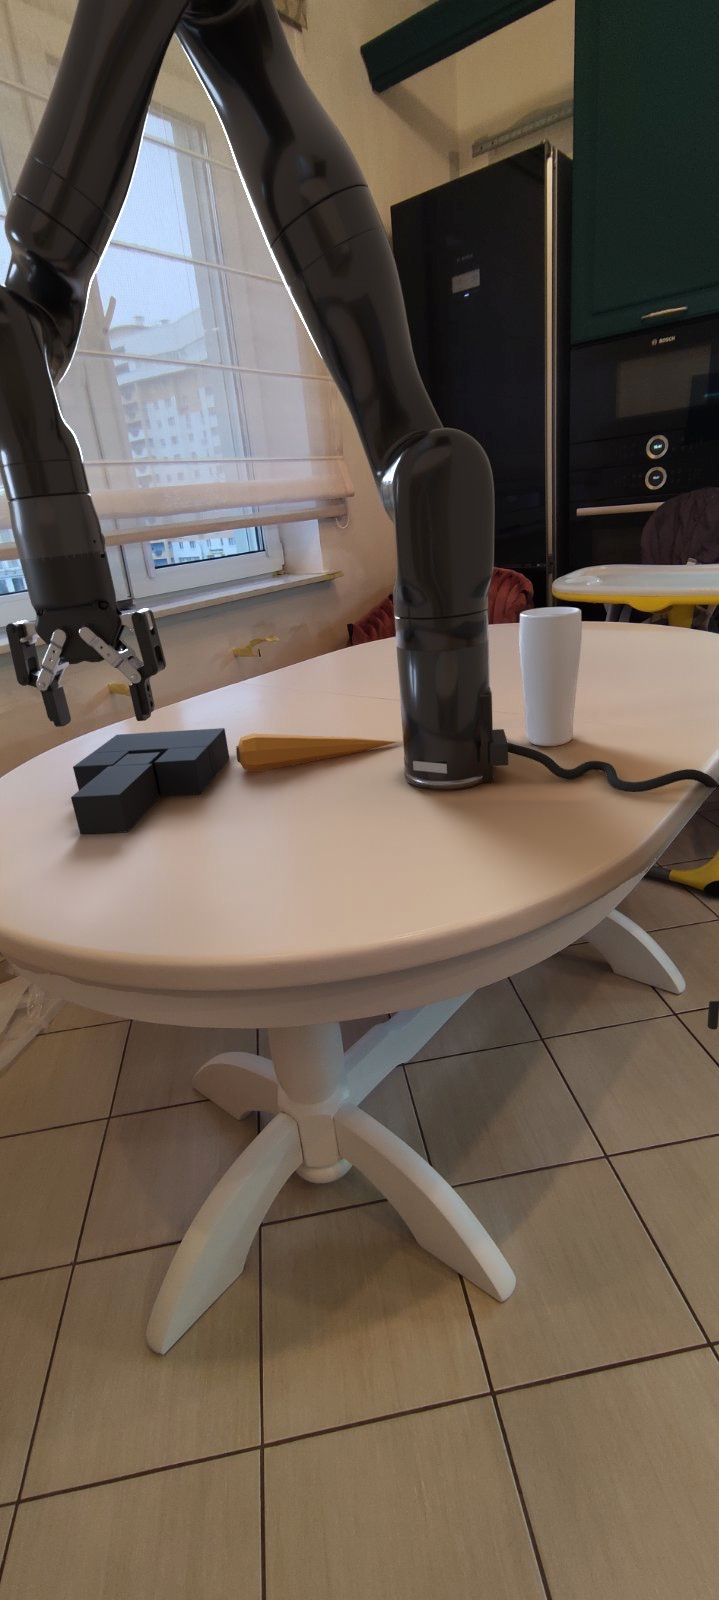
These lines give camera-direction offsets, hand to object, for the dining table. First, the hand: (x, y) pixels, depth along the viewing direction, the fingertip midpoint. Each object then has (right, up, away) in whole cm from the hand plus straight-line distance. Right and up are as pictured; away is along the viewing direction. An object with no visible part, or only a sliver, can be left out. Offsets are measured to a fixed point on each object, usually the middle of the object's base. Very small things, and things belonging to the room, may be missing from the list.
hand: (103, 721), depth 72 cm
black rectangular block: (+1, -9, +5) cm, 10 cm away
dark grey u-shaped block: (+2, -5, +14) cm, 15 cm away
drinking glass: (+48, -1, +13) cm, 50 cm away
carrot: (+21, -3, +15) cm, 26 cm away
